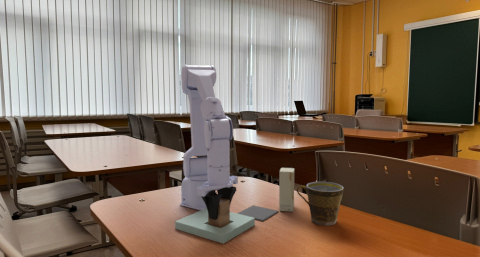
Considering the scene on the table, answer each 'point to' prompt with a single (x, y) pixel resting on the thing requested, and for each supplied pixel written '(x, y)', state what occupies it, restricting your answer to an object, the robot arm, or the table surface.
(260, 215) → the rubber mat
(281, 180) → the skincare box
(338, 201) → the ceramic cup
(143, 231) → the table surface
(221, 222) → the walnut block
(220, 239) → the pocket board
